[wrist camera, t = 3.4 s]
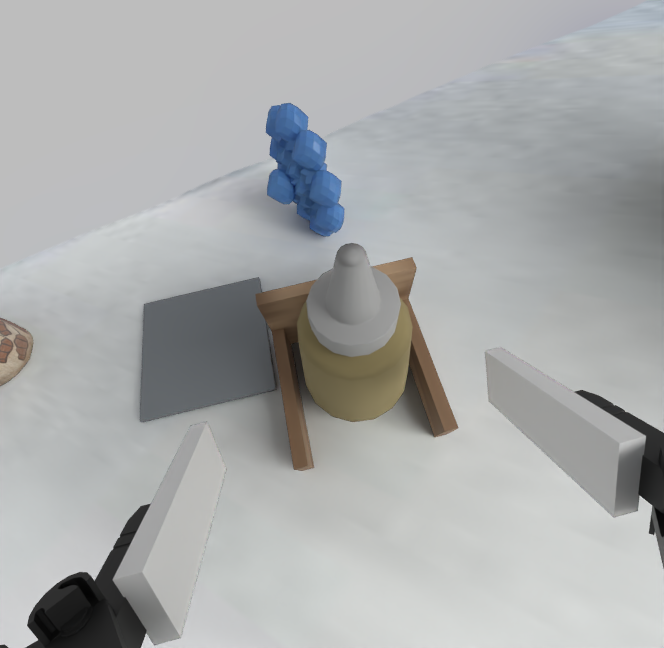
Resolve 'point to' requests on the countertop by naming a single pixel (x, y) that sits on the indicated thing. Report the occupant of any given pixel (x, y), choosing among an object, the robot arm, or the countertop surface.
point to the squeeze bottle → (354, 339)
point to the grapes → (302, 170)
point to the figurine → (13, 349)
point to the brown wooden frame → (282, 320)
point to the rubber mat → (204, 350)
